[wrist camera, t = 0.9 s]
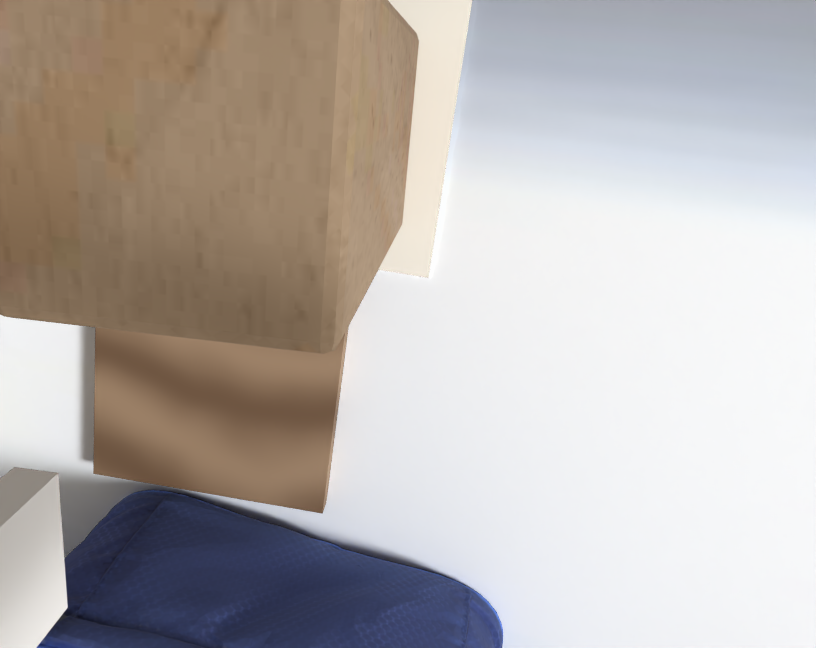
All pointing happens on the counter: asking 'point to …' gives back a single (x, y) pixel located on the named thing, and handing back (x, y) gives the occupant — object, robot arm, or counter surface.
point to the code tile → (429, 126)
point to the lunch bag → (250, 588)
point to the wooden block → (202, 163)
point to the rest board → (217, 416)
